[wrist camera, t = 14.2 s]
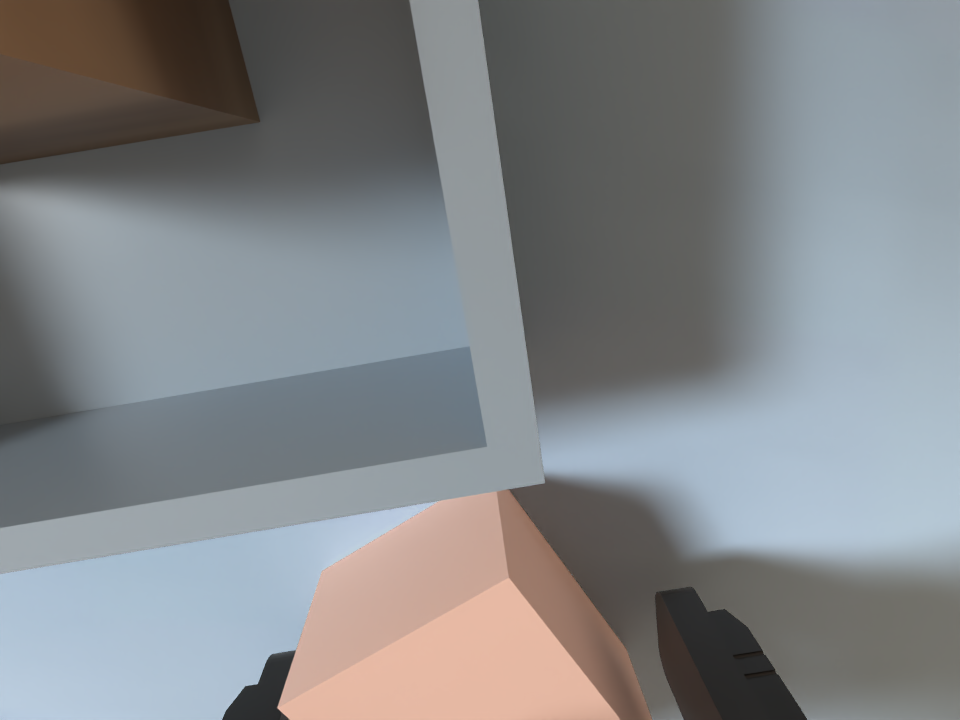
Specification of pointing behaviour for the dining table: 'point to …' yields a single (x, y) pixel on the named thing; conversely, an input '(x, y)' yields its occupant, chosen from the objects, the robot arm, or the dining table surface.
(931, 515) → the dining table surface
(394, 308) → the tote
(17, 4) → the block
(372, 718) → the light box
